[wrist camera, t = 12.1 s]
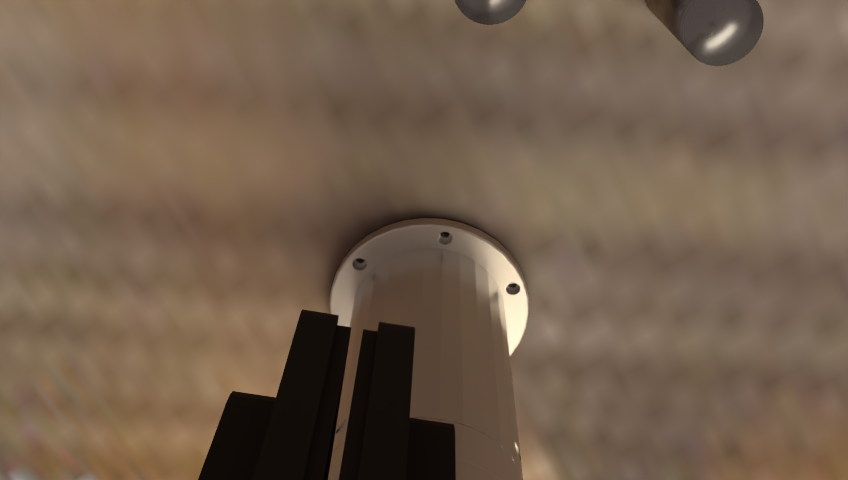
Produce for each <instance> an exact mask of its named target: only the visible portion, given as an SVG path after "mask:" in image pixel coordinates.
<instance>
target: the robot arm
mask: <svg viewBox="0 0 848 480" xmlns="http://www.w3.org/2000/svg"><path fill="white" fill-rule="evenodd" d="M442 232H448V233H447V234H443V233H442ZM358 258H361V259H362V260H360V259H358ZM510 283H513V284H510ZM329 308H330V314H327V313H321V312H314V311H308V310H302V311H301V314H300V317H299V320H298V324H297V327H296V331H295V334H294V338H293V341H292V345H291V348H290V351H289V355H288V358H287V362H286V365H285V369H284V372H283V376H282V379H281V383H280V386H279V389H278V393H277V396H276V398H275V397H268V396H261V395H255V394H248V393H241V392H235V391H233V392H232V393H231V394H230V396H229V398H228V400H227V403H226V405H225V408H224V411H223V414H222V416H221V419H220V422H219V424H218V427H217V430H216V433H215V435H214V438H213V441H212V443H211V446H210V449H209V452H208V454H207V457H206V460H205V462H204V465H203V468H202V471H201V473H200V476H199V479H198V480H523V475H522V466H521V457H520V447H519V438H518V429H517V419H516V410H515V401H514V391H513V382H512V373H511V363H510V356H511V355H512V354H513V352H514V351H515V350H516V348H517V347H518V345H519V344H520V342H521V340H522V338H523V335H524V333H525V331H526V328H527V324H528V318H529V312H530V311H529V296H528V291H527V286H526V281H525V279H524V276H523V274H522V272H521V269H520V267H519V265H518V264H517V262H516V261H515V260H514V258H513V257H512V255H511V254H510V253H509V252H508V251H507V250H506V249H505V248H504V247H503V246H502V245H501V244H500V243H499V242H498V241H497V240H495V239H494V238H492V237H491V236H489V235H487V234H486V233H484V232H482V231H481V230H479V229H476V228H474V227H471V226H469V225H466V224H464V223H460V222H456V221H451V220H446V219H435V218H419V219H411V220H404V221H400V222H397V223H394V224H390V225H387V226H384V227H382V228H380V229H378V230H377V231H375V232H373V233H371V234H369V235H367V236H366V237H365V238H363V239H362V240H361V241H360V242H358V243H357V244H356V245H355V246H354V247H353V248H352V249H351V250H350V251H349V253H348V254H347V255H346V256H345V257H344V259H343V260H342V262H341V264H340V266H339V268H338V270H337V272H336V274H335V277H334V281H333V284H332V288H331V294H330V302H329Z"/></svg>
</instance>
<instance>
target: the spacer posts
mask: <svg viewBox="0 0 848 480" xmlns="http://www.w3.org/2000/svg"><path fill="white" fill-rule="evenodd" d="M455 2H456V4H457V6H458V8H459V9H460V10H461V12H462V13H463V14H464V15H465V16H466V17H468V18H469V19H471V20H473V21H475V22H477V23H481V24H487V25H493V24H499V23H502V22H505V21H507V20H509V19H510V18H512V17H513V16H515V15H516V14H517V13H518V12H519V11H520V10H521V8H522V7H523V5H524V4H525V2H526V0H455ZM645 2H646V4H647V6H648V8H649V9H650V10H651V11H652V13H653V14H654V15H655V16H656V17H657V18H658V19H659V20H660V21H661V22H662V23H663V24H664V25H665V26H666V27H667V29H668V30H669V31H670V32H671V33H672V34H673V35H674V36H675V37H676V38H677V39H678V40H679V41H680V42H681V43H682V44H683V46H684V47H685V48H686V49H687V50H688V51H689V52H690V53H691V54H692V55H693V56H694V57H695V58H696V59H697V60H699V61H700V62H702V63H705V64H708V65H713V66H722V65H727V64H731V63H733V62H736V61H738V60H740V59H741V58H743V57H744V56H745V55H747V54H748V53H749V52H750V51H751V50H752V49H753V47H754V46H755V45H756V43H757V42H758V40H759V38H760V36H761V33H762V29H763V13H762V9H761V7H760V5H759V3H758V2H757V1H756V0H645Z"/></svg>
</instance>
